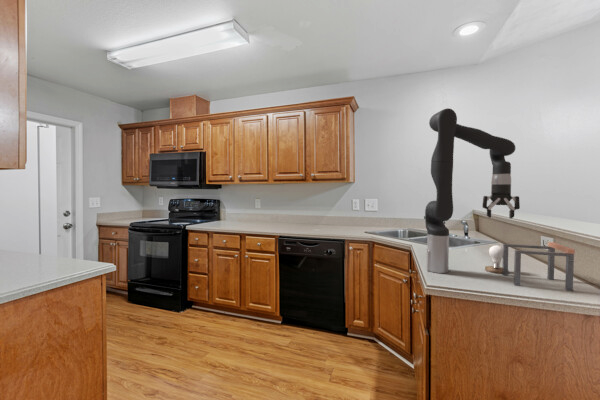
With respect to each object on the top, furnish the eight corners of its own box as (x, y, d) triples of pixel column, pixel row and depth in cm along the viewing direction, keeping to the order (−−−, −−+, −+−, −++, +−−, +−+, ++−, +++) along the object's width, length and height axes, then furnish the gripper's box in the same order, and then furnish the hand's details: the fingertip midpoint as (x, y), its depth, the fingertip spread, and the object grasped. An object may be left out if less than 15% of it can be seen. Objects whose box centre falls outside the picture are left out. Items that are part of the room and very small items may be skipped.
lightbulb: (507, 270, 128) (508, 247, 128) (492, 269, 129) (493, 246, 129) (500, 267, 134) (501, 244, 134) (485, 266, 135) (486, 243, 135)
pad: (487, 272, 129) (487, 270, 129) (482, 267, 138) (482, 265, 137) (511, 274, 126) (511, 272, 126) (504, 269, 134) (504, 267, 134)
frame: (515, 285, 112) (516, 250, 111) (502, 274, 127) (503, 243, 126) (572, 291, 105) (573, 254, 105) (552, 278, 120) (552, 246, 120)
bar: (567, 253, 106) (567, 249, 105) (547, 245, 120) (547, 242, 120) (574, 253, 105) (574, 249, 105) (553, 246, 120) (553, 242, 120)
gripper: (485, 183, 131) (484, 218, 131) (522, 183, 126) (521, 219, 126) (481, 184, 138) (480, 216, 138) (516, 184, 133) (515, 217, 133)
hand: (500, 217), depth 132 cm, fingers open, 8 cm apart
